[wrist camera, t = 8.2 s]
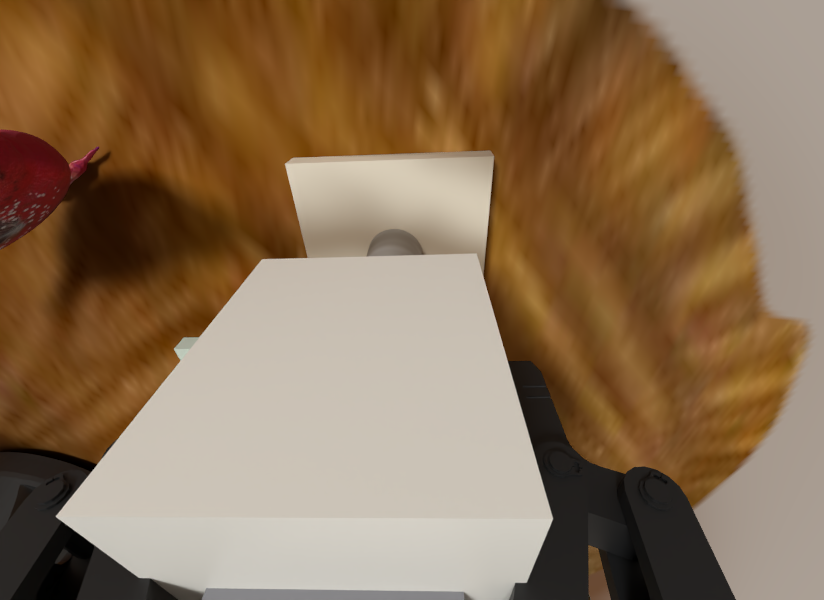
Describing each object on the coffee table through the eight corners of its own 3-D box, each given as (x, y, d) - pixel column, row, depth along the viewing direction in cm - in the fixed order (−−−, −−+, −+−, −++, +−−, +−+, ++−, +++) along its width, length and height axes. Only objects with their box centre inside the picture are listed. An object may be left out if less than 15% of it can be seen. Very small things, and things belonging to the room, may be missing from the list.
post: (476, 311, 23) (516, 500, 13) (328, 313, 23) (259, 498, 14) (490, 150, 17) (578, 275, 7) (292, 158, 18) (128, 284, 8)
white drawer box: (307, 399, 16) (207, 699, 8) (262, 259, 12) (-16, 605, 4) (466, 398, 15) (508, 707, 8) (476, 253, 11) (581, 615, 4)
